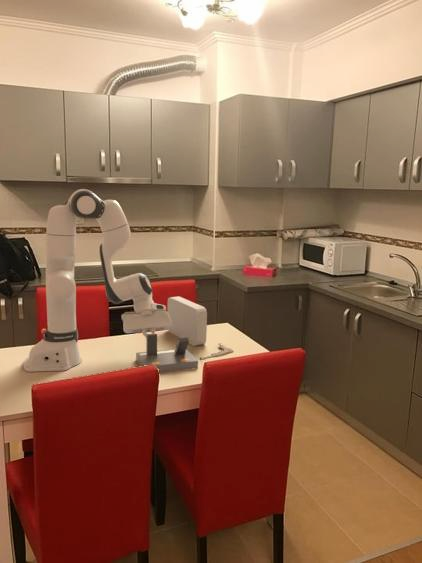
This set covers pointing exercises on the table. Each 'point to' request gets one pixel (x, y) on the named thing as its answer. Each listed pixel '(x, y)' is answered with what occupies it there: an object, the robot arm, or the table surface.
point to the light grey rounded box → (188, 320)
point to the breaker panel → (168, 360)
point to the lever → (181, 346)
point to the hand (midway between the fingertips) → (150, 339)
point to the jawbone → (222, 353)
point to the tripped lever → (151, 345)
